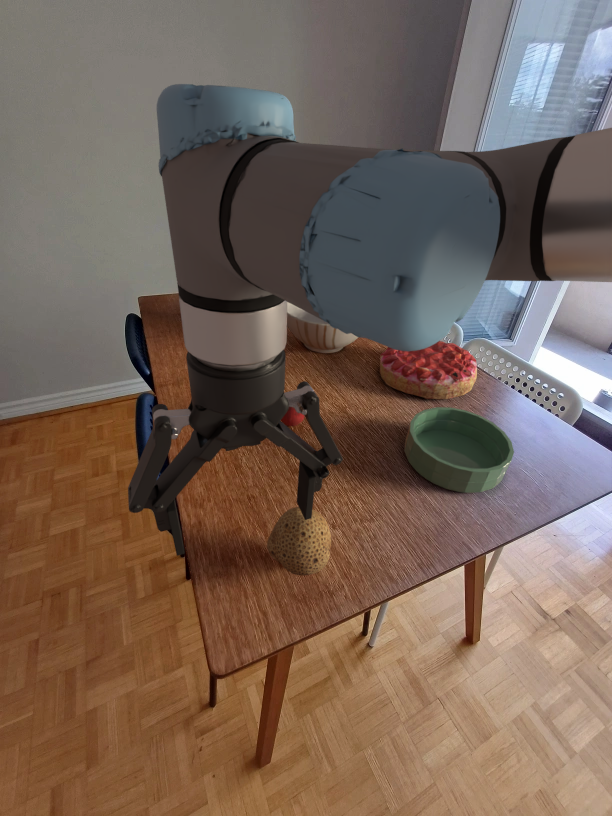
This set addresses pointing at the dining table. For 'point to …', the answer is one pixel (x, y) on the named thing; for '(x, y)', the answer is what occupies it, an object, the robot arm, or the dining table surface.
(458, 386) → the cake
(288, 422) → the onion
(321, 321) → the decorative bowl
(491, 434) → the green bowl
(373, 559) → the dining table surface
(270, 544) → the natural sponge
